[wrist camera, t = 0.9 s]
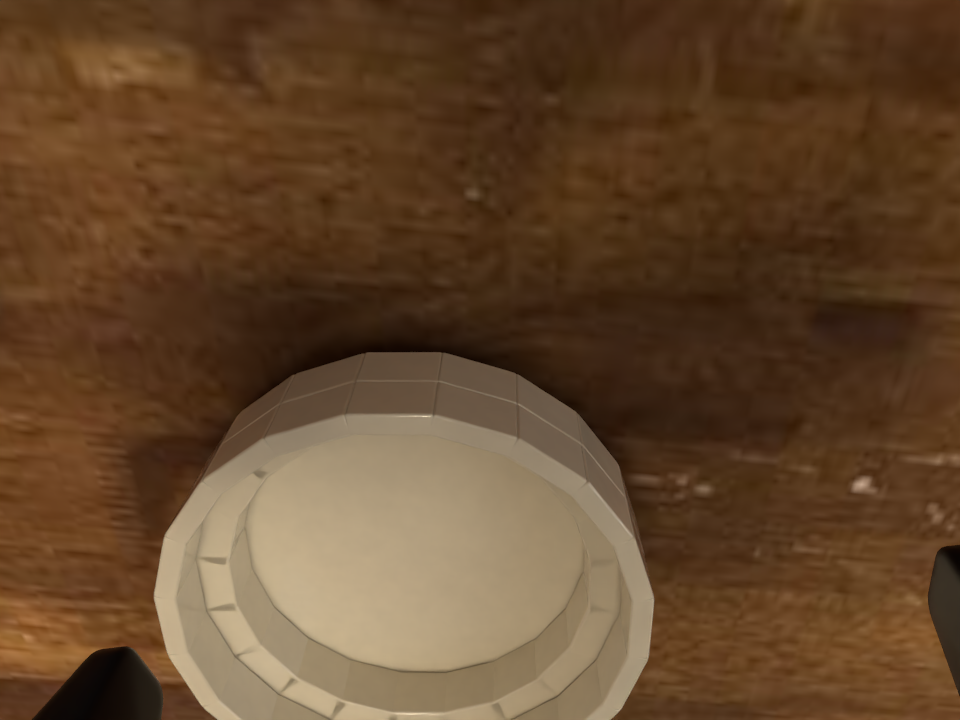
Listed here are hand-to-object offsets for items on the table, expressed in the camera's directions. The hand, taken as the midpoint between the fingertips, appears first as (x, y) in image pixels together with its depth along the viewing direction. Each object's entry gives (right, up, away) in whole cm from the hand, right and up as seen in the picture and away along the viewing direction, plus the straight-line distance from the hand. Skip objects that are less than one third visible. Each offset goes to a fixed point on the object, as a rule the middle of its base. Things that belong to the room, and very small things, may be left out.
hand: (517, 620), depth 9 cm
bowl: (-2, -3, +17) cm, 17 cm away
